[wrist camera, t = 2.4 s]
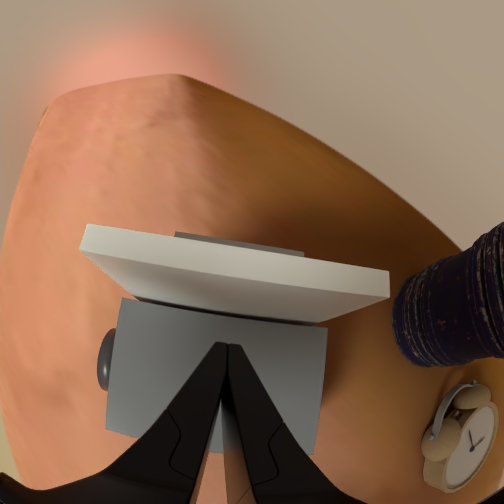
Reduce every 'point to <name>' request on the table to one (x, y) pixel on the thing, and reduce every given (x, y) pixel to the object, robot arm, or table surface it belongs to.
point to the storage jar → (454, 307)
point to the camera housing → (190, 355)
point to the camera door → (231, 276)
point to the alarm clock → (459, 437)
